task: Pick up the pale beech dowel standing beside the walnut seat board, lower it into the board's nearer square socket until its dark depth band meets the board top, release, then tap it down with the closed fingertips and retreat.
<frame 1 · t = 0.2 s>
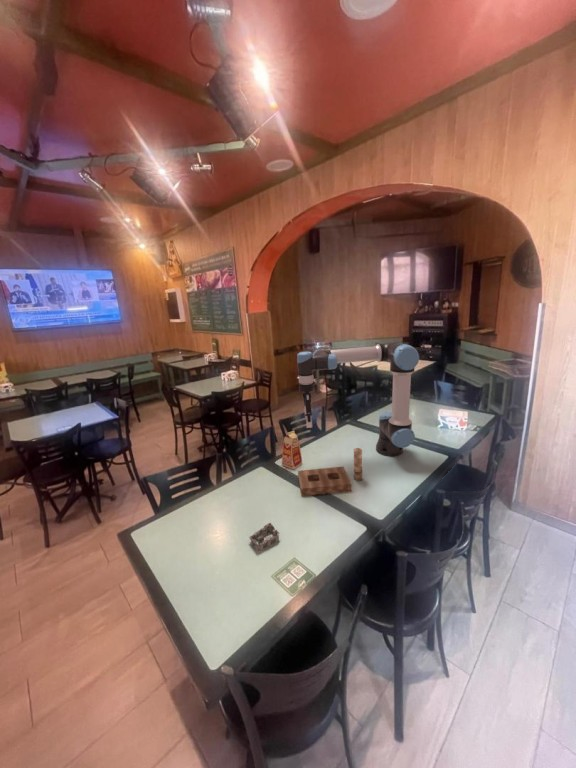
hand: (308, 422, 162), 28 cm above the table, fingers open, 13 cm apart
board: (323, 484, 155), on the table
peg: (358, 478, 158), on the table
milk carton: (292, 463, 177), on the table
egg carton: (265, 541, 121), on the table
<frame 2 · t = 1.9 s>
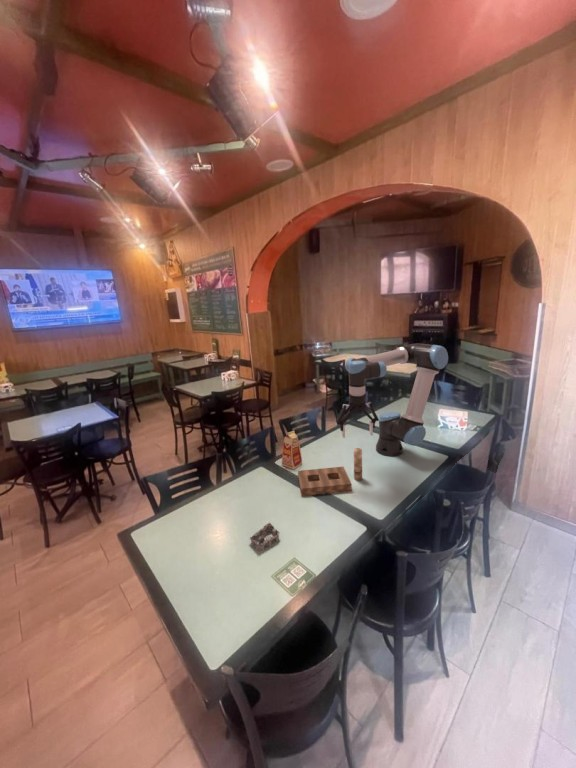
hand: (357, 435, 152), 24 cm above the table, fingers open, 13 cm apart
nothing on the table moved.
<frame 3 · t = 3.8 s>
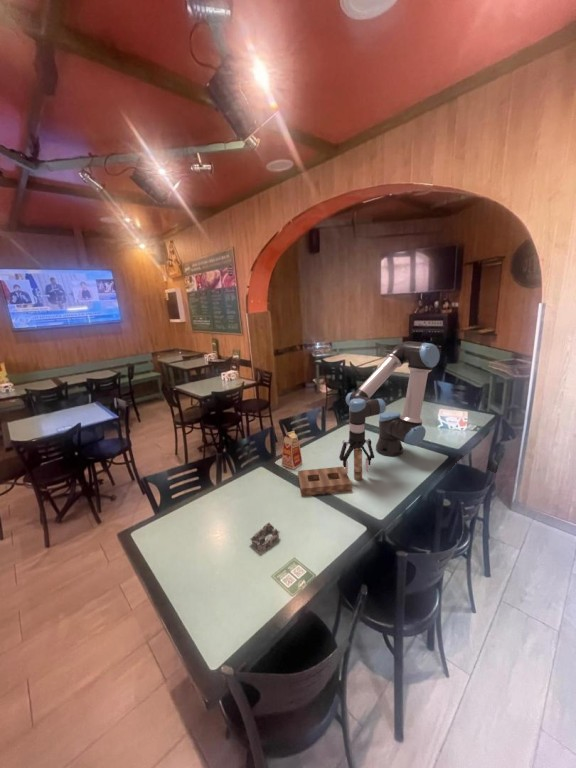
hand: (356, 471, 157), 4 cm above the table, fingers open, 10 cm apart
nothing on the table moved.
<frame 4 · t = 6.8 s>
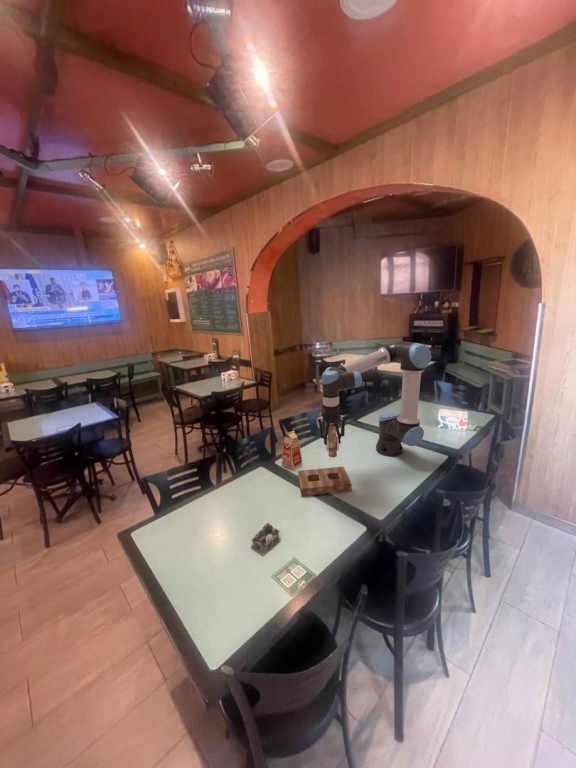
hand: (332, 449, 151), 18 cm above the table, fingers closed on peg, 4 cm apart
peg: (332, 455, 152), point 15 cm above the table, touching gripper
everything else where it was.
when the fingers open (5 cm above the table, at t = 9.4 s): peg drops 2 cm, resting in board.
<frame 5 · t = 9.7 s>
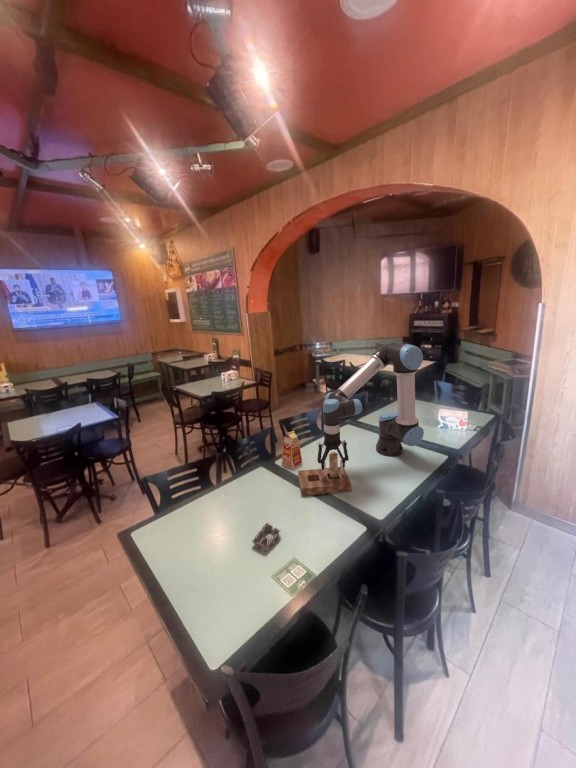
hand: (333, 473, 154), 5 cm above the table, fingers open, 8 cm apart
peg: (333, 483, 156), resting in board
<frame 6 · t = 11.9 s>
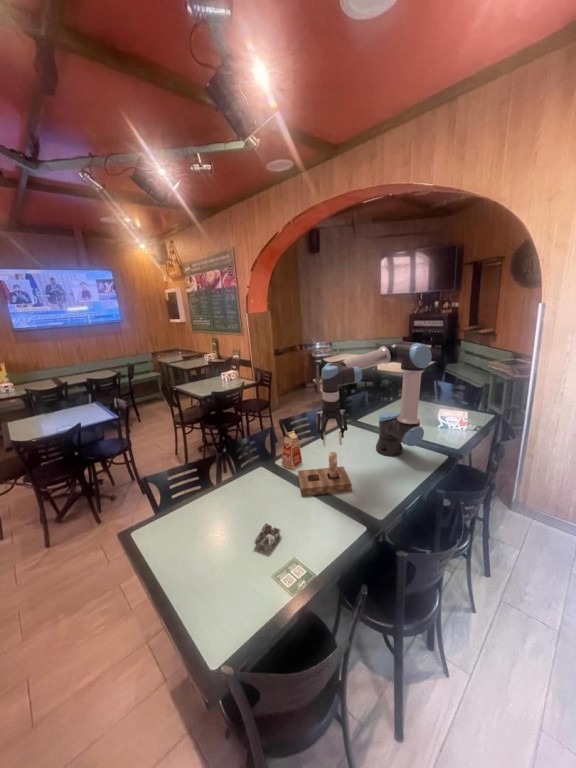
hand: (332, 444, 150), 21 cm above the table, fingers open, 7 cm apart
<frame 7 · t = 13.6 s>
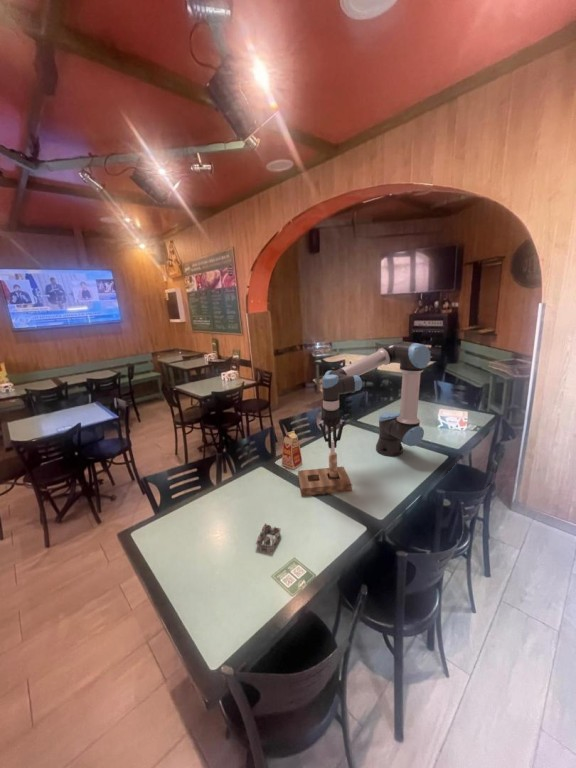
hand: (332, 453, 151), 16 cm above the table, fingers closed
peg: (333, 483, 156), resting in board, touching gripper
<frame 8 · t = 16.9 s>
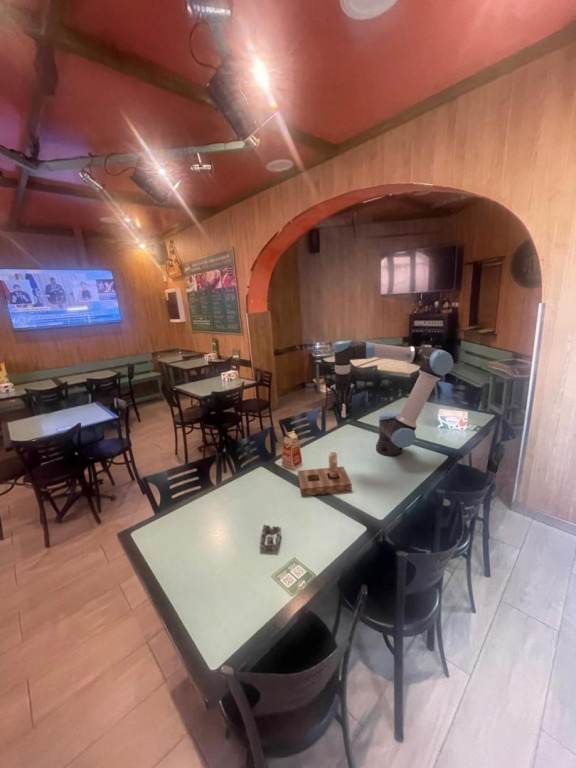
hand: (343, 416, 162), 29 cm above the table, fingers closed
peg: (333, 483, 156), resting in board
at the end: peg 0.1 cm from the target spot on the board, point 0.0 cm above the board's base; peg tilted 0°; the gripper is holding nothing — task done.
